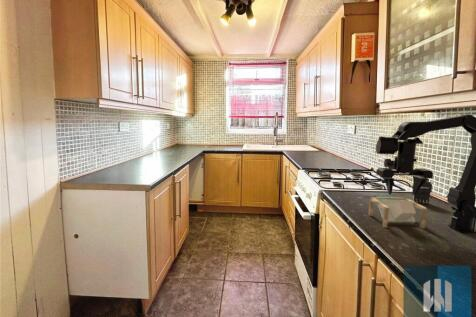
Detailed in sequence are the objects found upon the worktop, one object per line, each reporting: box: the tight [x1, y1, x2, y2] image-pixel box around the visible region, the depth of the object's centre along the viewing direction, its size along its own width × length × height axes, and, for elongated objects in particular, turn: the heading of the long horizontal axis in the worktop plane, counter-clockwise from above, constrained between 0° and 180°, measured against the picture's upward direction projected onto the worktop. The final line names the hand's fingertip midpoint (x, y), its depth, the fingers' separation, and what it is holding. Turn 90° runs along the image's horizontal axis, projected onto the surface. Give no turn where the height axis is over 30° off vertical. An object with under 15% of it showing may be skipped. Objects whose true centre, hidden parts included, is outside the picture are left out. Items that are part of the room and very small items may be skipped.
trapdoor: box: [377, 199, 416, 223], centre depth 111 cm, size 10×12×1 cm
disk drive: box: [372, 194, 398, 198], centre depth 133 cm, size 10×3×15 cm
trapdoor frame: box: [367, 196, 428, 229], centre depth 110 cm, size 13×15×8 cm
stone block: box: [390, 200, 417, 220], centre depth 106 cm, size 5×5×7 cm
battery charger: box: [412, 181, 433, 205], centre depth 133 cm, size 7×4×11 cm, turn 73°
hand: (401, 194), depth 106 cm, fingers open, 9 cm apart
